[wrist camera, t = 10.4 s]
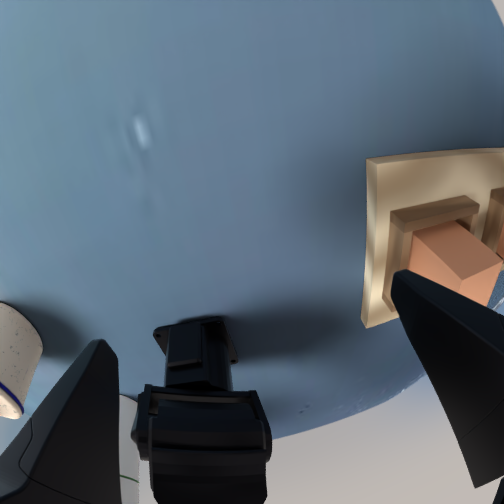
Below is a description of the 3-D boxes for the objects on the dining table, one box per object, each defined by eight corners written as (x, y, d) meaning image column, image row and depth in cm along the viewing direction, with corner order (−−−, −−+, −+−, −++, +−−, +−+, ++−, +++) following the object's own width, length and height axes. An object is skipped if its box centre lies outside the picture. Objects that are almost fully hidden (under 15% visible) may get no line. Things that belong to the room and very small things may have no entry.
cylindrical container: (91, 386, 28) (75, 572, 7) (145, 400, 30) (148, 586, 9) (92, 408, 31) (81, 564, 10) (139, 421, 33) (141, 576, 12)
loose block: (440, 263, 23) (484, 310, 17) (400, 277, 23) (443, 332, 17) (449, 216, 20) (503, 260, 14) (406, 228, 20) (462, 280, 14)
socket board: (502, 260, 27) (539, 297, 20) (360, 318, 27) (396, 384, 20) (525, 147, 19) (578, 176, 11) (365, 158, 18) (446, 206, 11)
